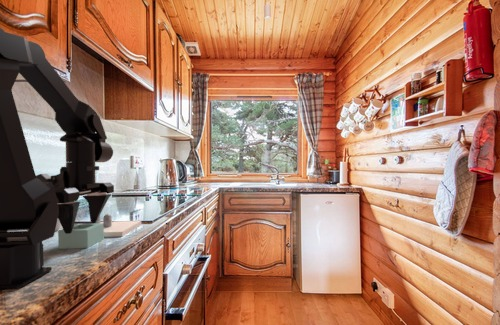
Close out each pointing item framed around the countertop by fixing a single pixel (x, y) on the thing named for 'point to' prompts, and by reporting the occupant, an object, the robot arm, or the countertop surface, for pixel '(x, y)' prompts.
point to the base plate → (117, 226)
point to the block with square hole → (81, 236)
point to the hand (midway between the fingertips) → (81, 227)
